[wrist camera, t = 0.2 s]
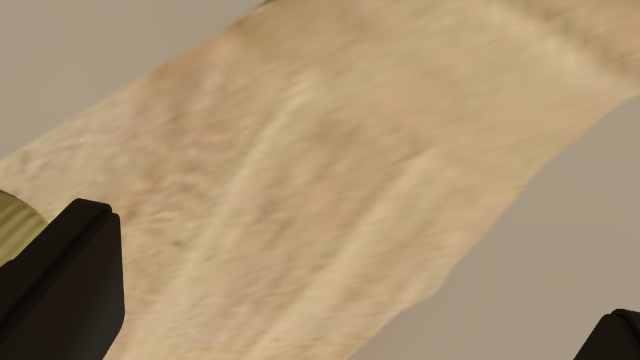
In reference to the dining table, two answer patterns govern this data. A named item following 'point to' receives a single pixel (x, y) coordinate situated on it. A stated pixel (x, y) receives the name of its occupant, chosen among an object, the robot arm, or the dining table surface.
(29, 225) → the potted cactus
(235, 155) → the dining table surface
